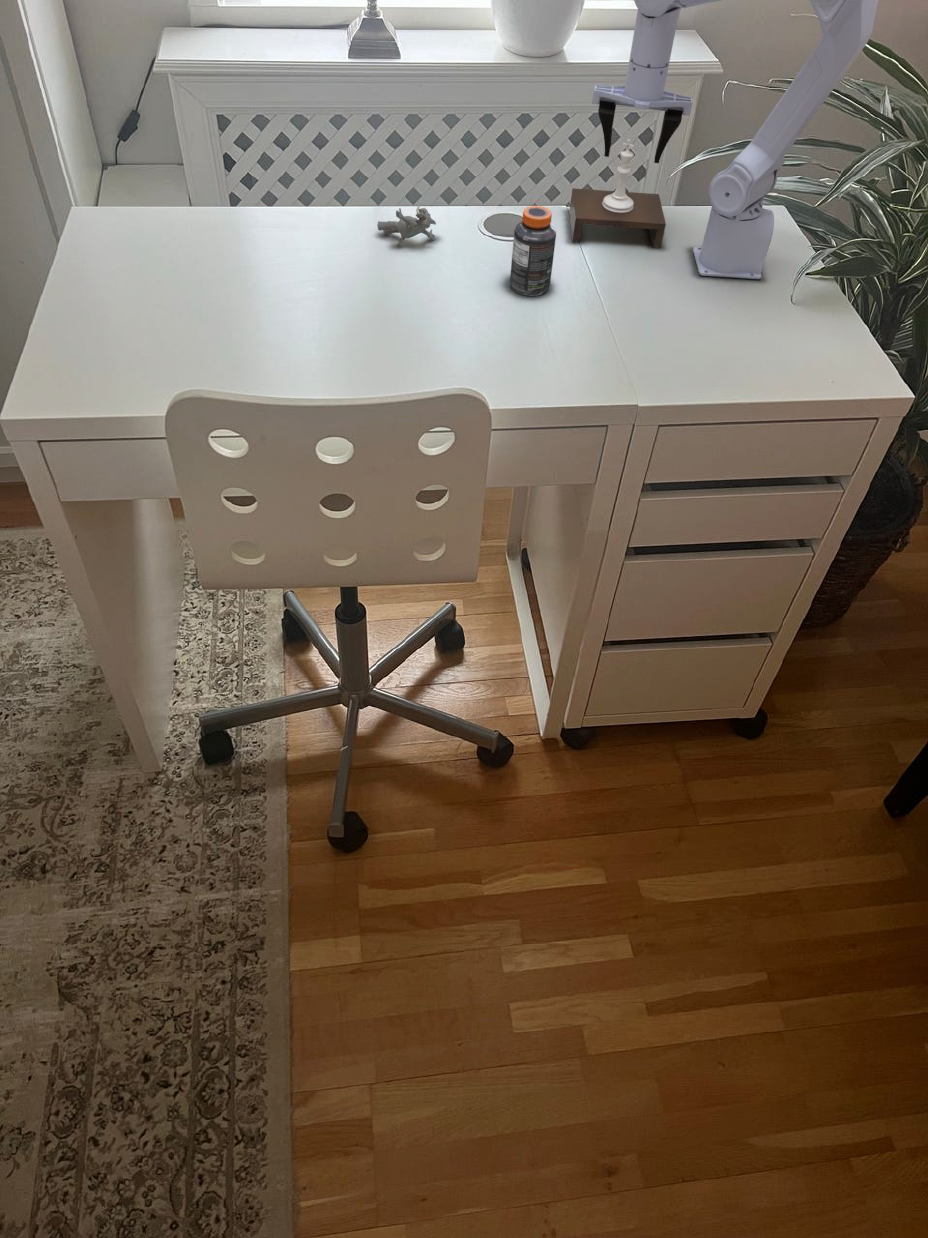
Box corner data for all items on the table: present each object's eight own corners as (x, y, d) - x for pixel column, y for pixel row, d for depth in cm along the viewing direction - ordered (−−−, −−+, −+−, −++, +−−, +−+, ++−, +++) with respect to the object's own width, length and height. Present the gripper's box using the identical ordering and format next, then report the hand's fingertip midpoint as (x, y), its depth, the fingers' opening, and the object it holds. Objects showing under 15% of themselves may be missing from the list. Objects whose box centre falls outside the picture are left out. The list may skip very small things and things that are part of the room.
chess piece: (625, 215, 149) (637, 149, 142) (596, 206, 151) (607, 140, 143) (638, 204, 152) (651, 138, 145) (610, 195, 154) (621, 129, 146)
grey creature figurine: (403, 221, 153) (450, 217, 148) (398, 259, 153) (444, 256, 148) (364, 195, 144) (412, 190, 140) (358, 235, 145) (406, 232, 140)
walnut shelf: (653, 217, 158) (659, 193, 155) (660, 248, 151) (666, 223, 148) (569, 212, 158) (572, 188, 155) (572, 242, 151) (575, 217, 148)
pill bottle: (550, 277, 144) (560, 203, 135) (548, 298, 140) (558, 223, 131) (510, 273, 144) (517, 199, 135) (507, 294, 140) (515, 219, 131)
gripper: (597, 64, 136) (582, 161, 146) (699, 77, 135) (678, 174, 145) (600, 47, 141) (586, 142, 151) (700, 59, 140) (679, 154, 150)
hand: (631, 157), depth 149 cm, fingers open, 7 cm apart
